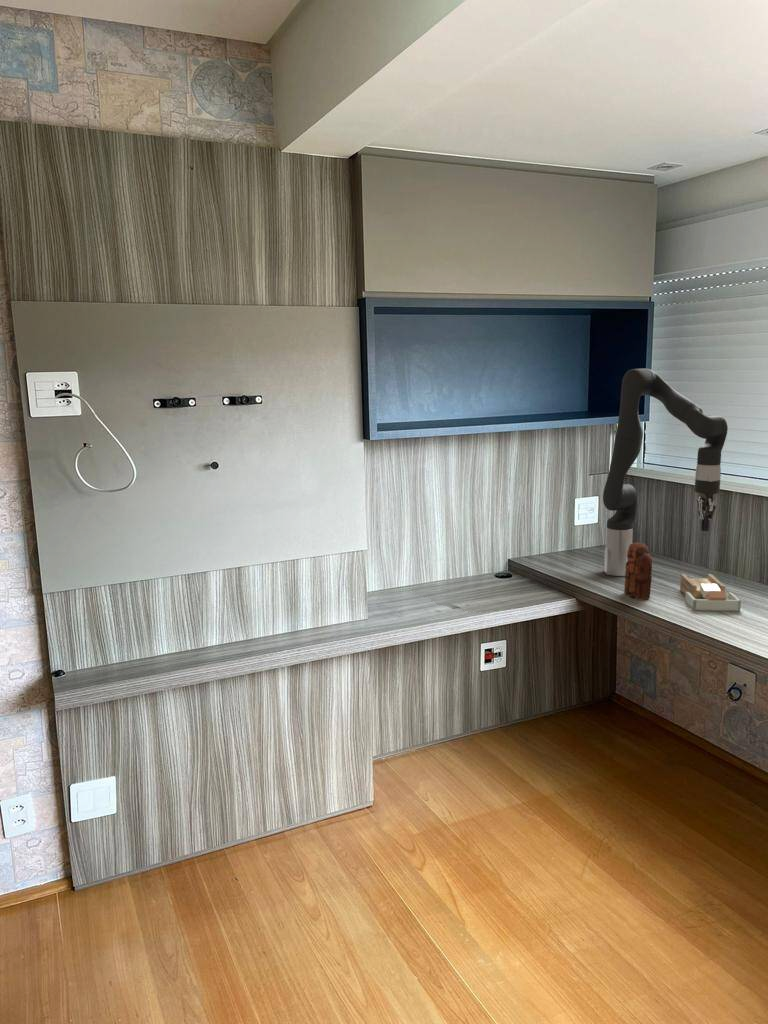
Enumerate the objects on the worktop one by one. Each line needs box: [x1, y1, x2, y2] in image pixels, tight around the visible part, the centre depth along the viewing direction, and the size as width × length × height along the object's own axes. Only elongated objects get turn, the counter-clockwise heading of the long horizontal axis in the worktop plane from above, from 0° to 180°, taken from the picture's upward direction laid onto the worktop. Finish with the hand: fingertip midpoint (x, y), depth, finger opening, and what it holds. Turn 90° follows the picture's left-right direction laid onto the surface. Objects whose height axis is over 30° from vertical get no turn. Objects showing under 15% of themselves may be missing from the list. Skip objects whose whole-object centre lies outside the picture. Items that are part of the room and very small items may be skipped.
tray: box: [685, 592, 742, 612], centre depth 243 cm, size 14×9×4 cm, turn 83°
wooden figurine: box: [623, 541, 653, 601], centre depth 256 cm, size 12×6×18 cm, turn 14°
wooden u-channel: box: [679, 573, 726, 599], centre depth 255 cm, size 10×15×6 cm, turn 173°
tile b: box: [705, 590, 728, 600], centre depth 241 cm, size 5×5×2 cm
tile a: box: [700, 584, 721, 598], centre depth 245 cm, size 5×5×2 cm
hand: (704, 530), depth 252 cm, fingers closed
